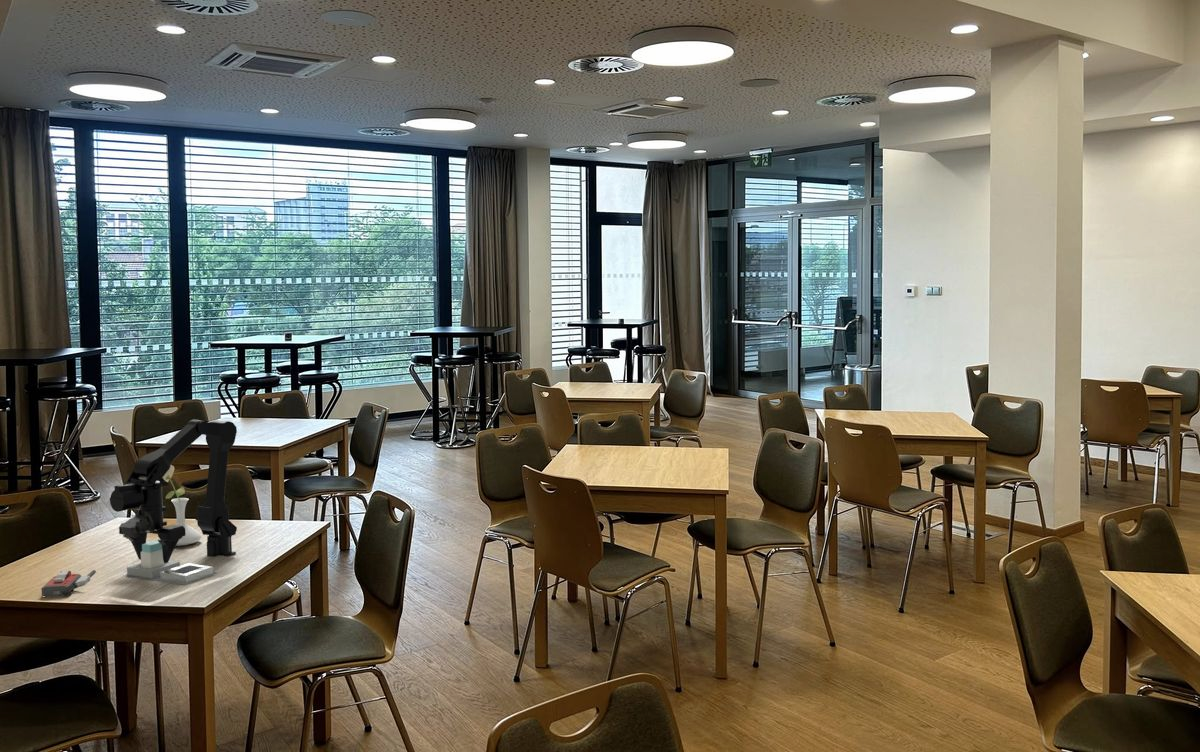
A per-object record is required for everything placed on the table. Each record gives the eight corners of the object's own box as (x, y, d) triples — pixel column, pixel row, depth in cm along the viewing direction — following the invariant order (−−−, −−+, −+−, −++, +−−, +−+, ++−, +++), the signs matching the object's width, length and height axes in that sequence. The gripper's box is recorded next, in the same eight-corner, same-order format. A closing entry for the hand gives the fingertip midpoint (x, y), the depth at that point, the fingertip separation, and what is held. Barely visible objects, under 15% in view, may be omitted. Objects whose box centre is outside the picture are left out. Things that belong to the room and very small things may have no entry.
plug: (141, 573, 265) (140, 544, 264) (156, 568, 269) (155, 540, 269) (151, 575, 264) (149, 545, 263) (165, 570, 268) (164, 541, 267)
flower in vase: (183, 537, 307) (180, 459, 305) (209, 541, 302) (207, 461, 300) (148, 547, 295) (144, 465, 293) (175, 551, 290) (172, 468, 288)
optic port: (160, 579, 259) (159, 572, 259) (188, 570, 268) (187, 563, 268) (185, 583, 256) (185, 575, 256) (213, 573, 264) (213, 566, 264)
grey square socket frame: (127, 574, 264) (126, 567, 264) (155, 565, 273) (155, 558, 272) (151, 578, 260) (151, 571, 260) (179, 569, 269) (179, 562, 269)
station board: (122, 578, 263) (121, 575, 263) (158, 567, 274) (157, 564, 274) (183, 588, 254) (183, 585, 254) (218, 575, 265) (218, 572, 265)
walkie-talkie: (76, 598, 248) (98, 575, 267) (76, 581, 247) (98, 560, 267) (38, 600, 246) (63, 578, 265) (37, 583, 245) (62, 562, 265)
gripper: (100, 507, 261) (103, 564, 263) (152, 513, 254) (154, 572, 255) (135, 499, 271) (137, 554, 273) (185, 505, 264) (188, 561, 265)
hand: (153, 560), depth 266 cm, fingers open, 9 cm apart
